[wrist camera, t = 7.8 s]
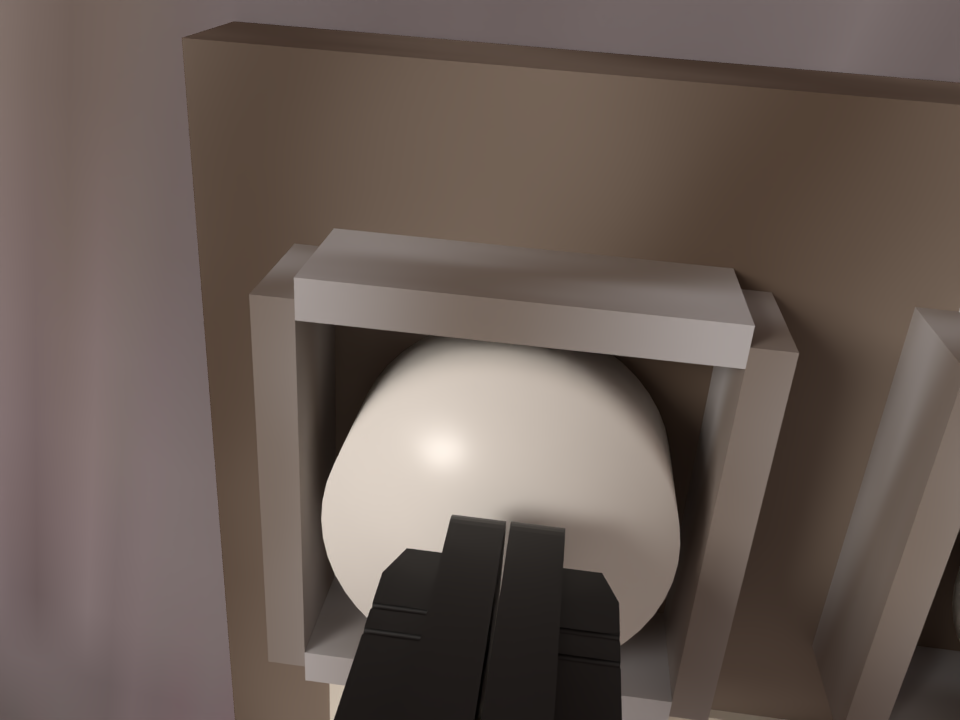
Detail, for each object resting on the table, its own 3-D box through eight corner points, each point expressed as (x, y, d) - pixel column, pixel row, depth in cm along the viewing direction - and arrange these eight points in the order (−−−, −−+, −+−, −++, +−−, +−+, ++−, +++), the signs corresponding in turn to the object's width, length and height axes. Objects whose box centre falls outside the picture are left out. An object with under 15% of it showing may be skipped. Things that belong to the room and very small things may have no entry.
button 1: (694, 338, 13) (710, 405, 11) (645, 605, 15) (650, 696, 14) (354, 302, 14) (318, 361, 12) (354, 567, 16) (322, 651, 14)
